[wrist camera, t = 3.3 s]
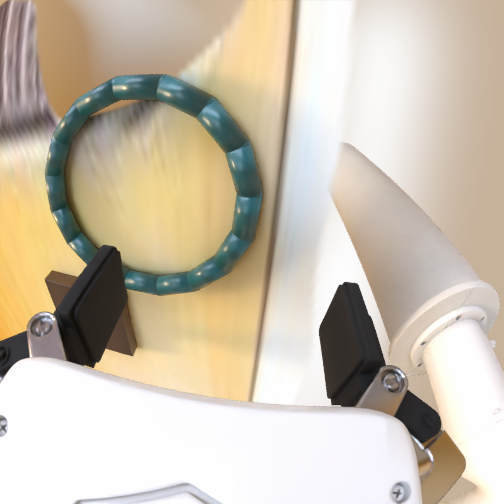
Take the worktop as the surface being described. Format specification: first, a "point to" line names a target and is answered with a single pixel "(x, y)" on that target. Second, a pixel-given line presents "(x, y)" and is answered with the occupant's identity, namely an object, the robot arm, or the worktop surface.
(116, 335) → the stand
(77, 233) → the ring
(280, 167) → the worktop surface
